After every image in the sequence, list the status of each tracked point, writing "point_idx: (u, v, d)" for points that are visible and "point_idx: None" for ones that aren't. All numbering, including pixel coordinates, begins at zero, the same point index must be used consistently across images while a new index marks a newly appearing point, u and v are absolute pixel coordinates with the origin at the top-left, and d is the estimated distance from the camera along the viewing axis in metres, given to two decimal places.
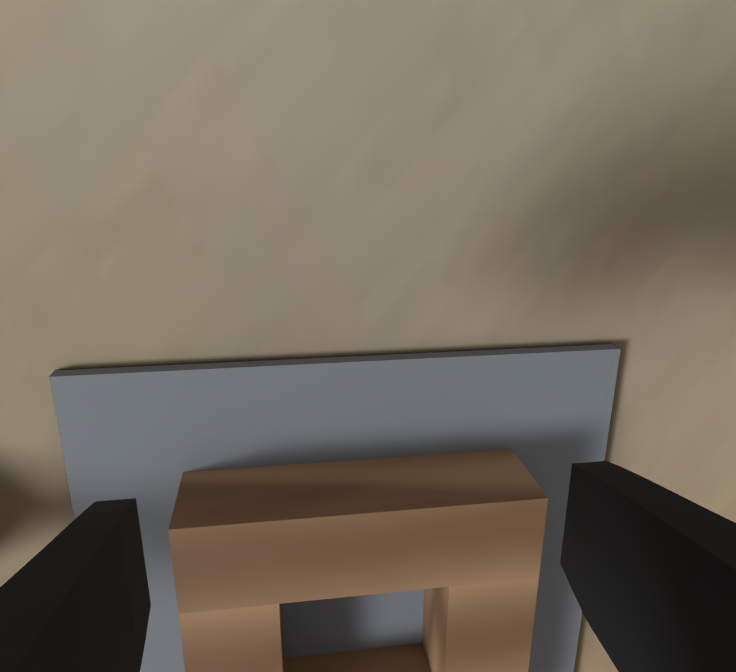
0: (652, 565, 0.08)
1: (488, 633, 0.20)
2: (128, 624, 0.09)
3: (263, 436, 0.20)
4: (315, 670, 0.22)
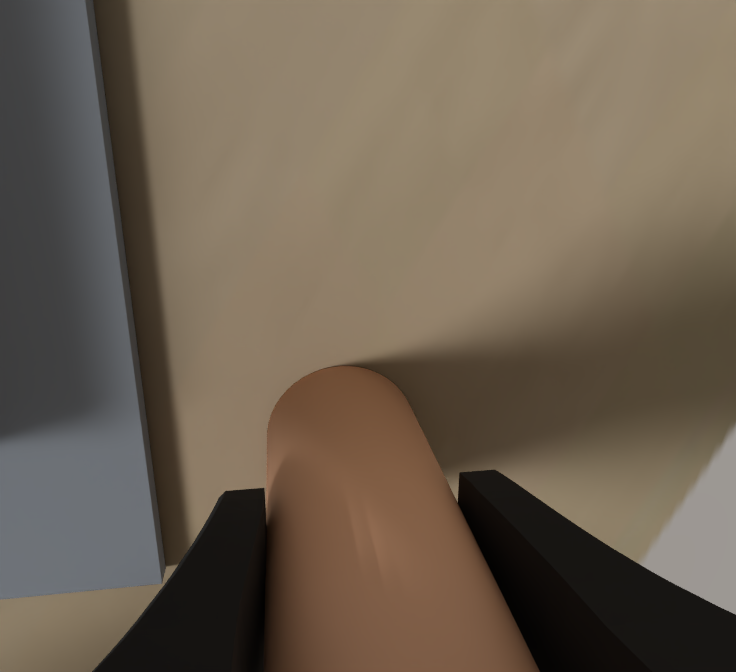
0: (515, 579, 0.08)
1: None
2: None
3: None
4: None
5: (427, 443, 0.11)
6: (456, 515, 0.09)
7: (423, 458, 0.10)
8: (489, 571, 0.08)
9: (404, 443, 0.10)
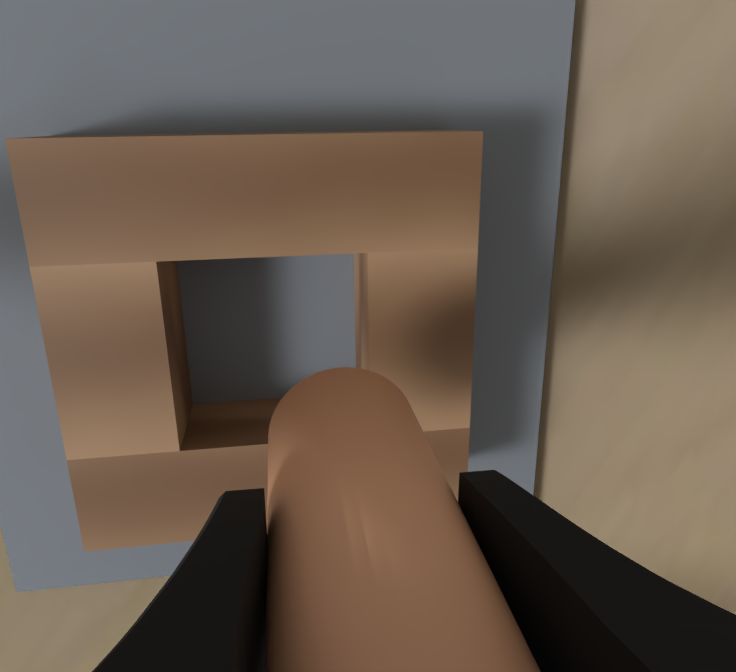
0: (515, 579, 0.08)
1: (419, 324, 0.17)
2: None
3: (145, 91, 0.17)
4: (227, 410, 0.19)
5: (425, 441, 0.11)
6: (453, 513, 0.09)
7: (420, 457, 0.10)
8: (487, 568, 0.08)
9: (400, 442, 0.10)
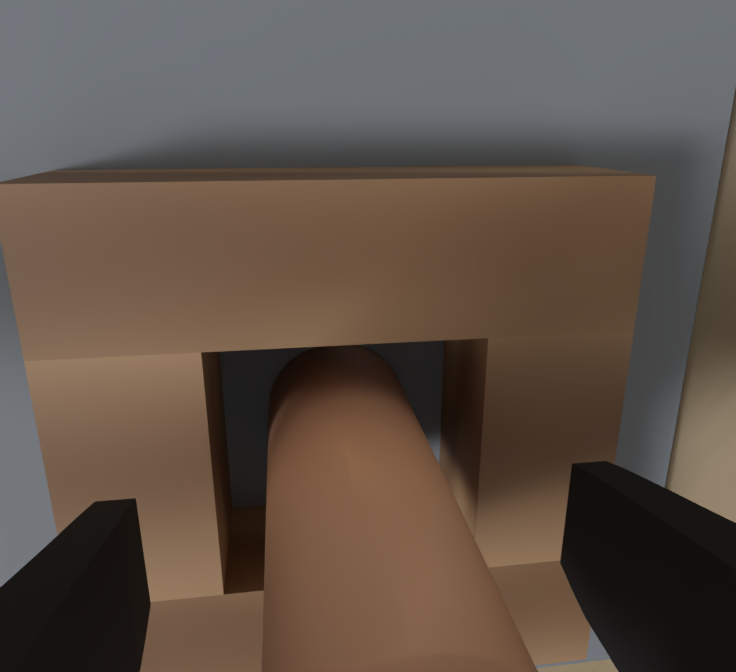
0: (652, 565, 0.08)
1: (549, 429, 0.12)
2: (128, 624, 0.09)
3: (184, 111, 0.12)
4: None
5: (408, 405, 0.13)
6: (427, 459, 0.10)
7: (401, 415, 0.11)
8: (454, 502, 0.09)
9: (384, 403, 0.12)
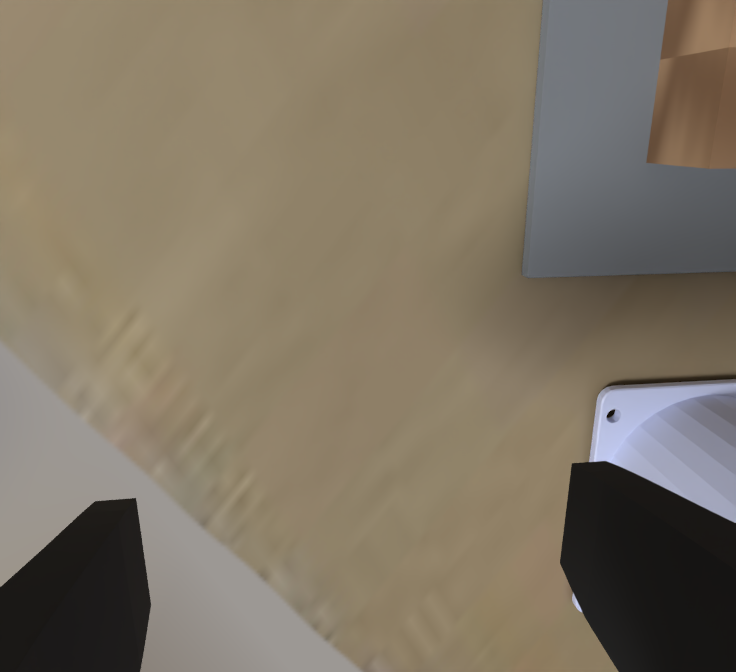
0: (652, 565, 0.08)
1: None
2: (128, 624, 0.09)
3: None
4: None
5: None
6: None
7: None
8: None
9: None
